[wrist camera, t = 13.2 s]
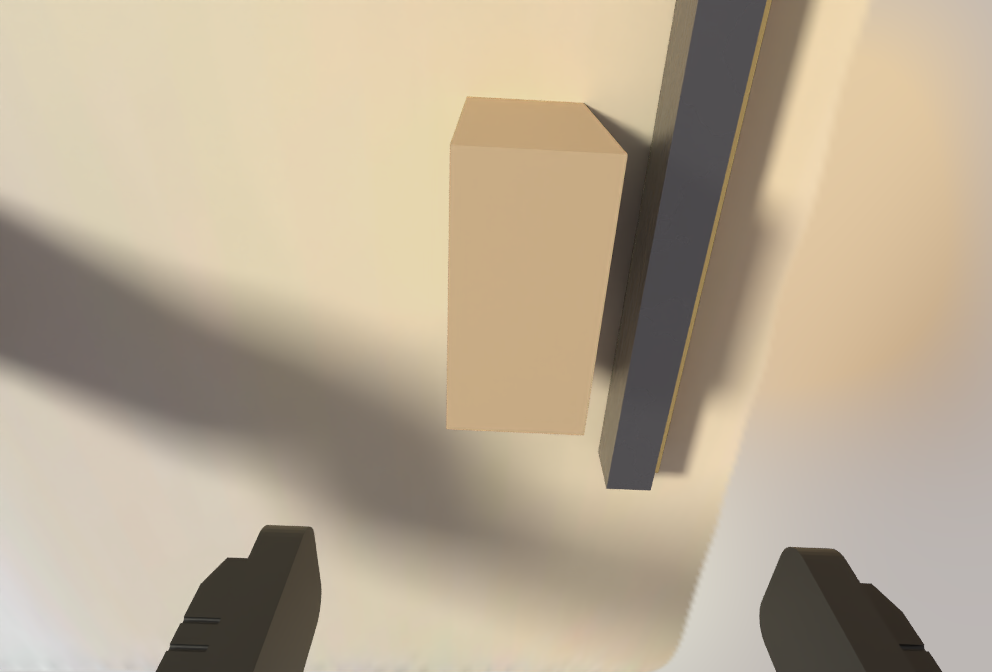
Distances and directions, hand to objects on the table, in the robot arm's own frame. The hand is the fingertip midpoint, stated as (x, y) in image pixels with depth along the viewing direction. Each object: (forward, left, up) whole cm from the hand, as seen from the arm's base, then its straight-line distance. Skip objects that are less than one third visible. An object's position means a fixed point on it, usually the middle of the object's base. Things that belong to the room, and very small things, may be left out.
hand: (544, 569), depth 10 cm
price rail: (+2, -7, -20) cm, 21 cm away
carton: (0, 0, -20) cm, 20 cm away
